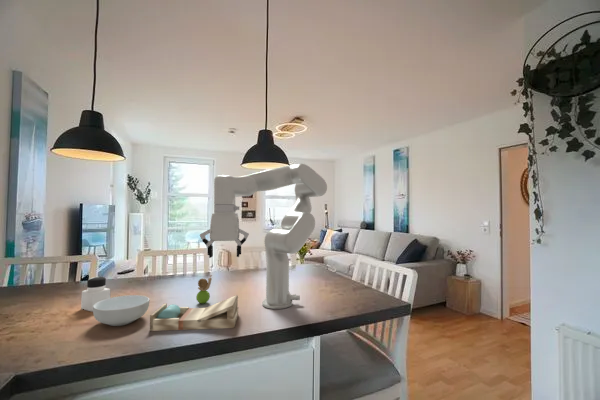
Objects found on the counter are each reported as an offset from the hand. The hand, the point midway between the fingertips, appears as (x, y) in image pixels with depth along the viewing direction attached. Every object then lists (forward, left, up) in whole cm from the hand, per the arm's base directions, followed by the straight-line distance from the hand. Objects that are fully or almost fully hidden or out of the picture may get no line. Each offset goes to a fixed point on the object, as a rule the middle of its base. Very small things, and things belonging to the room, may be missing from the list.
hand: (224, 256), depth 103 cm
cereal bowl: (+35, -2, -23) cm, 42 cm away
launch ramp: (+8, +1, -23) cm, 24 cm away
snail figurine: (+11, -20, -23) cm, 32 cm away
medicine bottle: (+53, -18, -23) cm, 61 cm away
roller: (+18, +1, -20) cm, 27 cm away
